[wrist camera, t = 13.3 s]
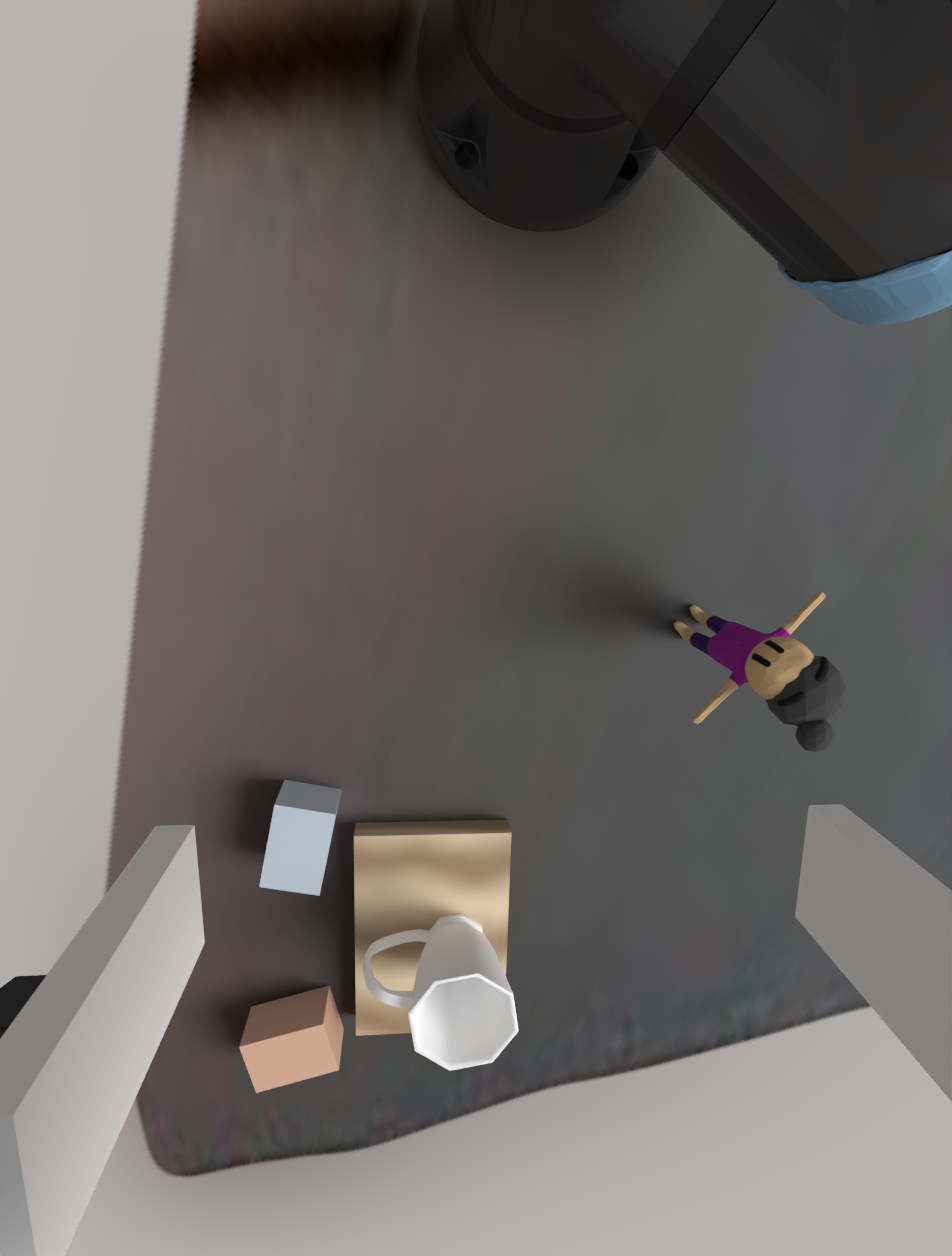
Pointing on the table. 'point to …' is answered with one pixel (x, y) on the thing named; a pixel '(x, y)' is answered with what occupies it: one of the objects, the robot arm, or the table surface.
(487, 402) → the table surface
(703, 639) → the toy
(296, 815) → the slate brick
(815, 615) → the table surface
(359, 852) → the oak board
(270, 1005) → the terracotta brick
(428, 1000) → the cup
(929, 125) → the robot arm
